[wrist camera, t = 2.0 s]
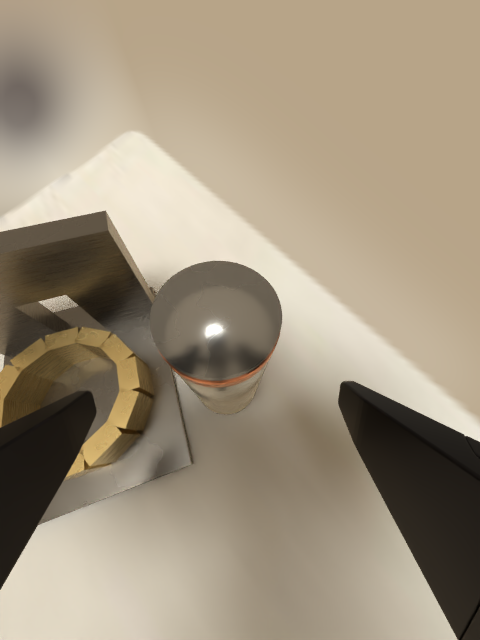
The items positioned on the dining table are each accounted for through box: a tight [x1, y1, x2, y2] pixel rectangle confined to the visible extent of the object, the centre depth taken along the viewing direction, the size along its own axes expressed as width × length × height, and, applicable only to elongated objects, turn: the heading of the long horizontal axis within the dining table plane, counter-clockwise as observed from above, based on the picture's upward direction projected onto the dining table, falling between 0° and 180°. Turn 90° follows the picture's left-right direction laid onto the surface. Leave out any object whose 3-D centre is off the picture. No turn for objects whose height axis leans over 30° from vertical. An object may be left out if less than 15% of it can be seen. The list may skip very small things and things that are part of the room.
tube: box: [150, 261, 282, 415], centre depth 13 cm, size 5×5×12 cm
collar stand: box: [0, 211, 193, 525], centre depth 14 cm, size 15×12×10 cm
